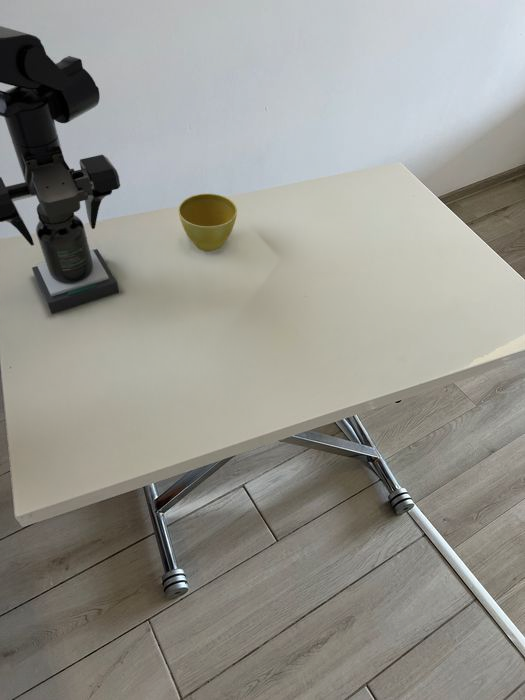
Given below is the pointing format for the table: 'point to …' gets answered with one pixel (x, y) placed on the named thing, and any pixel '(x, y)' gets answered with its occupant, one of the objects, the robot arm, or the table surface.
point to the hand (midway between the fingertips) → (63, 235)
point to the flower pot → (207, 220)
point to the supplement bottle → (64, 246)
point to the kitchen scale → (76, 285)
